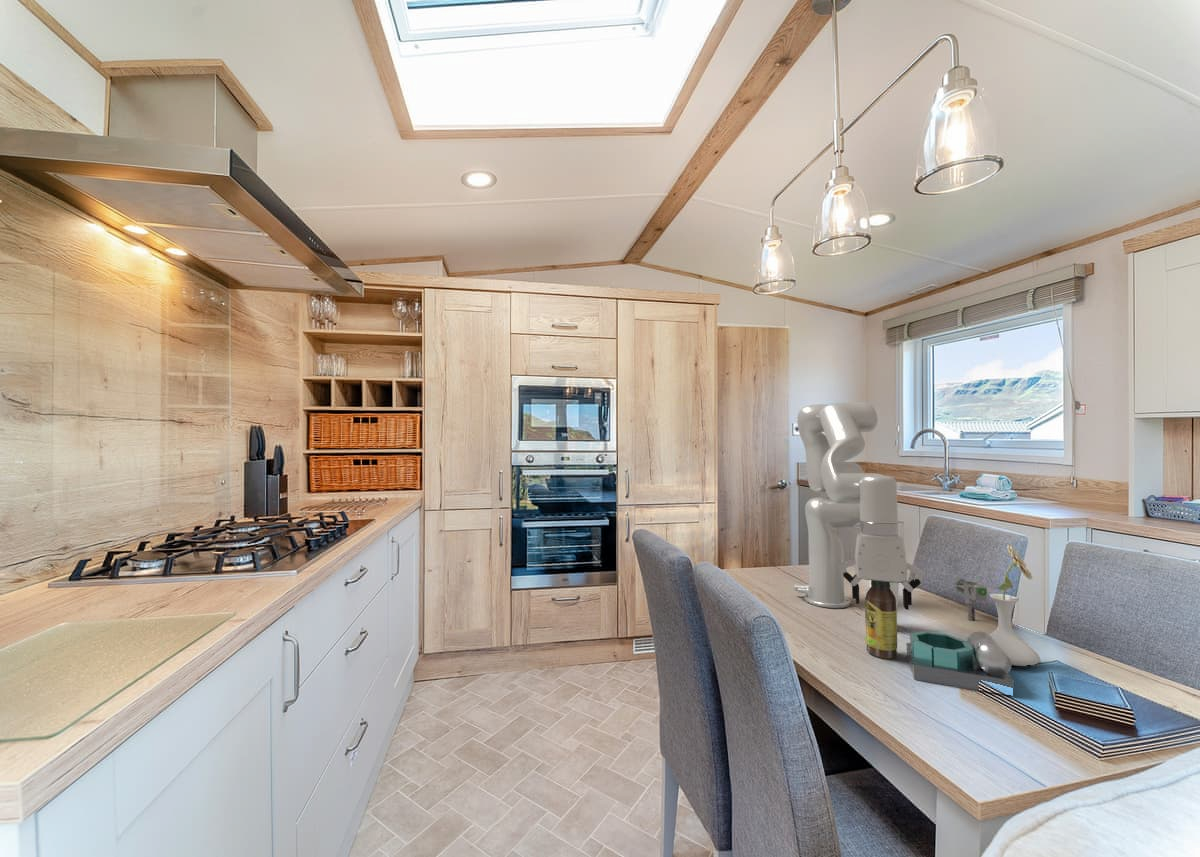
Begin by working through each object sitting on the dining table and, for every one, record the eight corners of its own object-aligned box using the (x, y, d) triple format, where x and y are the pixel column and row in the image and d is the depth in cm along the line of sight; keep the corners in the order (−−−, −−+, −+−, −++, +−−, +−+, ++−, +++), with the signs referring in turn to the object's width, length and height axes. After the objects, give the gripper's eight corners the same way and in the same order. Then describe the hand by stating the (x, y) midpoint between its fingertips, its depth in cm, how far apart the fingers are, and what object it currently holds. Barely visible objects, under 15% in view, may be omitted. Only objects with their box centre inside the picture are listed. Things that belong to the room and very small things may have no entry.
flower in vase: (1025, 676, 101) (1021, 554, 102) (963, 655, 111) (960, 544, 112) (1054, 662, 107) (1050, 547, 108) (992, 644, 117) (989, 538, 118)
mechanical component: (965, 613, 138) (964, 577, 138) (990, 627, 128) (989, 588, 128) (954, 613, 138) (953, 577, 138) (978, 626, 128) (977, 588, 128)
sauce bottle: (863, 646, 116) (861, 562, 116) (893, 650, 114) (891, 564, 114) (869, 658, 110) (867, 568, 110) (901, 662, 108) (898, 570, 108)
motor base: (914, 679, 100) (913, 639, 100) (906, 656, 110) (906, 620, 111) (1013, 696, 93) (1012, 654, 93) (995, 670, 103) (994, 632, 104)
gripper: (837, 529, 113) (839, 604, 112) (926, 534, 105) (929, 615, 104) (837, 524, 120) (839, 595, 119) (921, 529, 112) (923, 605, 111)
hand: (881, 605), depth 112 cm, fingers open, 9 cm apart
